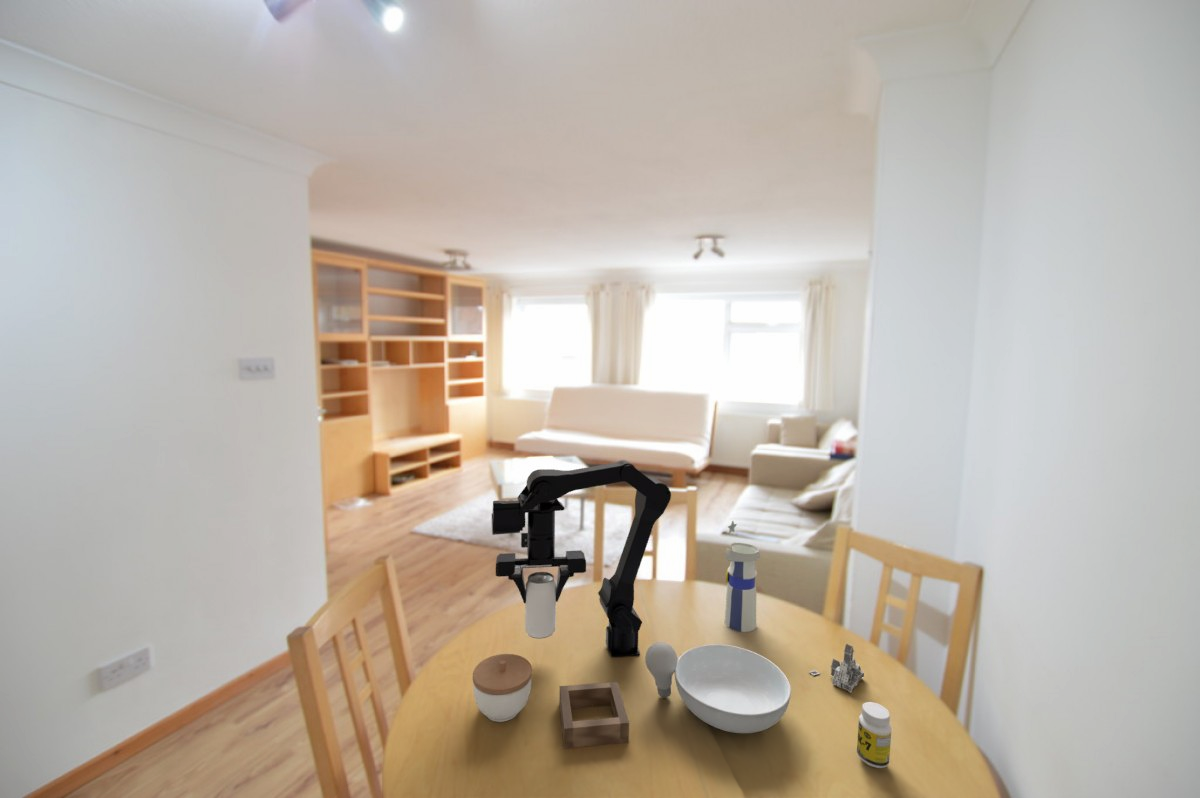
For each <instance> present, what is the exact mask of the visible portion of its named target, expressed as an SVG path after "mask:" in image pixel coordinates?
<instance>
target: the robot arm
mask: <svg viewBox="0 0 1200 798" xmlns="http://www.w3.org/2000/svg"><path fill="white" fill-rule="evenodd" d="M621 482H626V483H627V484H629V486H631V487H632V488H633V489H635V490H636V491H635V498H634V516H633V519H632V523H631V525H630V529H629V531H628V535H627V537H626V540H625V544H624V547H623V550H622V552H621V555H620V558H619V560H618V564H617V566H616V570H615V572H614V574H613V575H612V576H611V577H610V578H606V577H603V580H602V584H601V587H600V589H599V591H598V592H597V594H598V596H599V599H598V600H599V603H600V606H601V608H602V609H603V611H604V613H605V616H606V617H607V619H608V626H606V629H605V645H606V648H607V649H606V650H608V651H609V655H610V657H611V658H618V657H621V658H622V657H634V656H641V652H640V649H639V631H640V629H641V627H642V625H643V620H642V619H641V618H640V616H639V614H638V613H637V611H636V610H635V609H634V602H635V581H636V578H637V575H638V572H639V570H640V566H641V563H642V561H643V557H644V555H645V552H646V548H647V545H648V543H649V540H650V538H651V535H652V531H653V528H654V525H655V524H656V521H657V522H658V520H659V518H661V517H662V515H663V514H664V513H665V512H666V509H667V507H668V506H669V504H670V501H671V500H672V499H671V498H672V493H671V490H670V487H668V486H667V485H666V484H665V483H663V482H662V481H660V480H659V479H657V478H656V477H653V476H646V475H645V474H644V473H642V472H641V471H640V470H638V468H636V467H635V465H634V464H632V463H631V462H629V461H628V460H624V459H623V460H621V459H620V460H618V461H617V462H611V463H605V464H599V465H594V466H588V467H582V468H576V469H570V470H561V469H560V470H559V469H554V468H553V469H549V468H548V469H545V468H543V469H542V468H541V469H536V470H533V471H532V472H530V474H529V475H528V476H527V479H526V484H525V487H524V488H523V489H522V490H521V492H520V494H519V495H518V496H517V500H493V501H492V513H491V535H492V536H496V535H509V534H520V536H521V538H520V547H521V548H523V549H524V548H527V549H526V553H527V554H526V555H527V557H526V558H525V557H524V558H516V553H515V552H510V553H509V552H508V553H506V552H505V553H499V554H498V555H497V556H496V560H495V576H496V577H499V578H500V577H508V578H507V579H508V580H510V581H513V582H514V584H515V586H516V587H517V589H518V591H519V593H520V596H521V599H522V602H523V604H525V603H526V583H525V575H524V569H533V568H534V569H535V568H549V567H550V568H555V567H557V578H556V603H557V602H559V599H560V597H561V594H562V592H563V589H564V587H565V586H566V583H567V582H568V580H569V578H572V577H575V574H582V573H585V572H587V560H586V556H585V553H584V552H583V550H566V551H565V556H555V549H556V547H555V546H556V544H555V543H556V539H555V538H556V535H555V534H556V512H557V511H564V510H565V506H564V505H563V503H562V502H560V500H559V499H560V498H562V497H563V496H565V495H567V494H568V493H571V492H574V491H580V490H585V489H590V488H595V487H599V486H600V487H601V486H605V485H610V484H616V483H621ZM526 513H527V532H522V531H524V529H523V528H526Z"/></svg>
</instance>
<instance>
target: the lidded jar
mask: <svg viewBox="0 0 1200 798" xmlns="http://www.w3.org/2000/svg"><path fill="white" fill-rule="evenodd" d="M532 676H533V668H532V664H531V662H530V661H529V660H528V659H527V658H526V657H524V656H521V655H518V654H513V653H500V654H496V655H492V656H489V657H487V658H485V659H483V660H481V661H480V662H479V663H478V664H477V665H476V666H475V668H474V669H473V671H472V684H473V685H472V686H473V688H472V689H473V695H474V696H473V697H474V699H475V704H476V705H477V708H478V710H479V711H480V712H481V713H482V714H483V715H484V716H486V717H487V719H489V720H490V721H491V722H495V723H504V722H507V721H508V722H509V721H511V720H512V719H514V718H515V717H516V716H518V714H519V713H520V712H521V711H522V710H523V708H524V707H525V706H526V704H527V702H528V700H529V698H530V694H531V687H532Z"/></svg>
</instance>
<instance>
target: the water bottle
mask: <svg viewBox="0 0 1200 798" xmlns="http://www.w3.org/2000/svg"><path fill="white" fill-rule="evenodd" d="M737 525H738V524H737V523H735V522H734V520H732V521H731V524H730V525H728V526H727V527H728V529H729V531H728V534H731V533H735V528H736V526H737ZM725 558H726V560H727V561H729V562H730V564H729V566H728V568H727V570H726V572H725V573H726V574H725V581H726V583H727V585H726V595H725V596H726V597H725V610H724V619H723V620H724V622H723V623H724V624H725V626H726V625H727V626H726V627H728V628H729V629H731V630H732V631H733V630H734V631H736V632H739V633H741V632H742V633H750V632H752V631H755V630H756V629H757V587H756V577H757V575H758V571H757V570H756V566H755V565H756V561H758V560H759V559H760V558H761V554H760V549H759V548H758V547H757V546H755V545H752V544H748V543H744V542H733V543H731V549H729V548H728V547H727V548H726V549H725Z"/></svg>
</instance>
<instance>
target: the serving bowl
mask: <svg viewBox="0 0 1200 798" xmlns="http://www.w3.org/2000/svg"><path fill="white" fill-rule="evenodd" d="M677 660H678V661H677V667H676V669H675V671H674V673H673V674H674V678H675V679H674V681H675V686H676V689H677V691H678V695H679V696H680V698H681V700H682V702H683V703H684V705H685V706H686V707H687V708H688V709H689V711H691V713H693V715H695V716H696V717H697V718H698V719H700V720H701V721H702V722H704V723H706V724H708V725H709V726H710V727H711V726H712V727H714V728H716V729H720V730H722V731H724V732H725V731H726V732H728V733H735V734H754V733H758V732H759V733H760V732H761V731H765V730H767V729H770V728H771V727H773V726H774V725H776V724H777V723H778V722H780V720H781V719H782V718H783V716H785V713H786V712H787V710H788V707H789V704H790V700H791V695H792V687H791V683H790V682H789V679H788V678H787V675H786V674H785V673H784V672H783V670H781V668H779V667H778V665H776V664H775V663H774V662H772V661H771V660H769V659H768V658H766V657H765V656H763V655H761V654H759V653H756V652H754V651H752V650H748V649H746V648H743V647H739V646H735V645H729V644H718V643H717V644H713V643H712V644H704V645H698V646H695V647H692V648H690V649H688V650H686V651H684V652H683V653H681V655H680V656H679V657H677Z"/></svg>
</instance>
